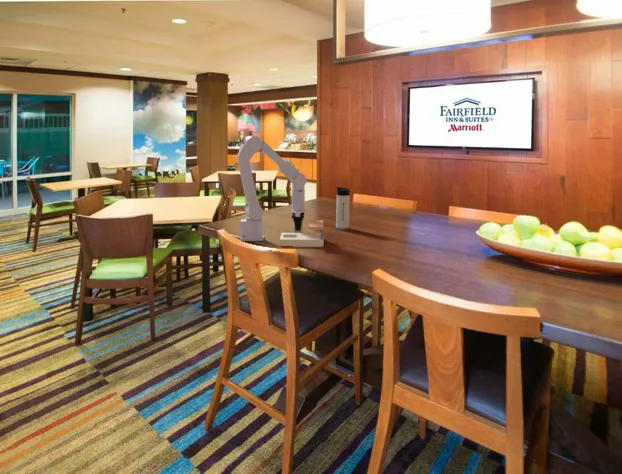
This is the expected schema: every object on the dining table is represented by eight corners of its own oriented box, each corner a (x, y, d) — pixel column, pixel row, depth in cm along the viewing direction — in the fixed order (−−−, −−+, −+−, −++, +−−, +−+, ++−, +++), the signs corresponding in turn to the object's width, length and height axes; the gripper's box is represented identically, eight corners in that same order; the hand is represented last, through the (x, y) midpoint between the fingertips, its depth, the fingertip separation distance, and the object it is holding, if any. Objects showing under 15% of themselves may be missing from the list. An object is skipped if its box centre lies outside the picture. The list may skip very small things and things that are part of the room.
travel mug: (340, 226, 213) (341, 186, 208) (351, 228, 209) (352, 187, 204) (332, 228, 209) (333, 187, 204) (344, 230, 205) (345, 189, 200)
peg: (293, 236, 192) (293, 219, 191) (294, 234, 196) (293, 217, 194) (302, 236, 192) (302, 219, 191) (302, 234, 196) (302, 217, 194)
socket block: (279, 246, 176) (279, 226, 173) (281, 239, 188) (281, 220, 186) (323, 247, 175) (323, 226, 173) (322, 239, 188) (322, 220, 186)
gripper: (306, 202, 183) (306, 233, 187) (307, 197, 197) (307, 225, 201) (290, 202, 183) (290, 233, 187) (292, 197, 197) (292, 225, 201)
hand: (298, 229), depth 194 cm, fingers closed on peg, 4 cm apart
